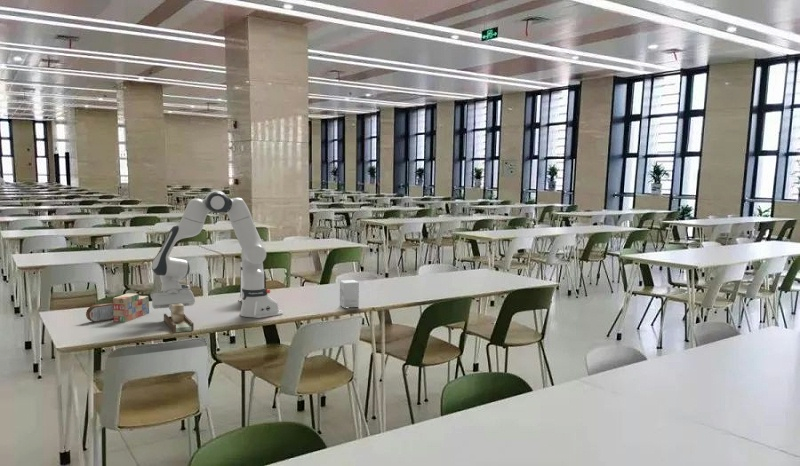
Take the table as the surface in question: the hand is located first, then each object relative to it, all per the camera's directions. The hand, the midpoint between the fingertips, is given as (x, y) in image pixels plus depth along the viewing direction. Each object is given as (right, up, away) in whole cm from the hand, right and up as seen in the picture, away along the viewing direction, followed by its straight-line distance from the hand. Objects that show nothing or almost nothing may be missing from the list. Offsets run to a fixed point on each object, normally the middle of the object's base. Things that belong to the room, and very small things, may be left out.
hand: (175, 313), depth 299 cm
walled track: (+3, -5, -5) cm, 8 cm away
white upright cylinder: (+25, -1, +55) cm, 60 cm away
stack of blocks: (-26, -4, +10) cm, 28 cm away
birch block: (+2, -3, -3) cm, 5 cm away
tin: (-37, -4, +1) cm, 37 cm away
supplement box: (+82, -3, +47) cm, 95 cm away
